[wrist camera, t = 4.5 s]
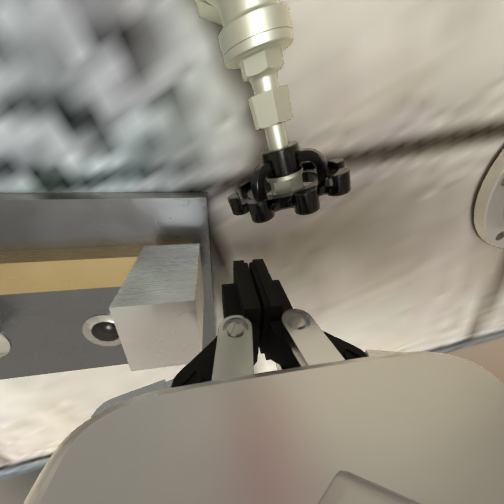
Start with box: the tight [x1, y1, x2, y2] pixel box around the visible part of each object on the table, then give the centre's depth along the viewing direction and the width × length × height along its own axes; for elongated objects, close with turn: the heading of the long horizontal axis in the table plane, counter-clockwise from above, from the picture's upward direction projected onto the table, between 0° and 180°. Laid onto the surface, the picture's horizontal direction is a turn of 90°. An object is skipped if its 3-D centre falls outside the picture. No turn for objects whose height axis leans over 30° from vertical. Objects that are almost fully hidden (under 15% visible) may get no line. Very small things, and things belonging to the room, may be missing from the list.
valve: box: [195, 0, 351, 223], centre depth 10 cm, size 7×7×12 cm
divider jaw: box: [109, 244, 204, 371], centre depth 13 cm, size 3×8×6 cm, turn 178°
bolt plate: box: [0, 192, 216, 379], centre depth 12 cm, size 20×14×9 cm
